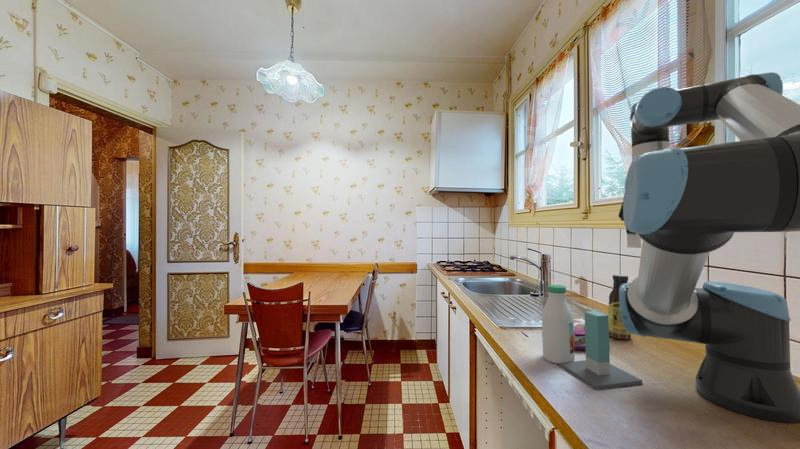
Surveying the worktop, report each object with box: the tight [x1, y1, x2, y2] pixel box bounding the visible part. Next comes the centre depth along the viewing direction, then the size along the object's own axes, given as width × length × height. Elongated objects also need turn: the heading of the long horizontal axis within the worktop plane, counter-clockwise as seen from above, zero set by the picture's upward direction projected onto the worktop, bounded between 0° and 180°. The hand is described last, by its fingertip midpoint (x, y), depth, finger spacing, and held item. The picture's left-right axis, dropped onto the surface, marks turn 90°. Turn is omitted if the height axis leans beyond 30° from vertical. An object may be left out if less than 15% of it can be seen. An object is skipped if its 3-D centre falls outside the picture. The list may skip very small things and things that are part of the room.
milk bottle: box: [541, 284, 576, 365], centre depth 86 cm, size 8×8×20 cm
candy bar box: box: [573, 317, 611, 352], centre depth 98 cm, size 11×5×16 cm
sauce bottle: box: [607, 273, 632, 340], centre depth 101 cm, size 7×6×20 cm
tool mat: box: [559, 359, 643, 390], centre depth 76 cm, size 12×12×1 cm
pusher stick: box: [584, 310, 611, 376], centre depth 77 cm, size 4×3×14 cm
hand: (653, 246), depth 79 cm, fingers open, 13 cm apart
